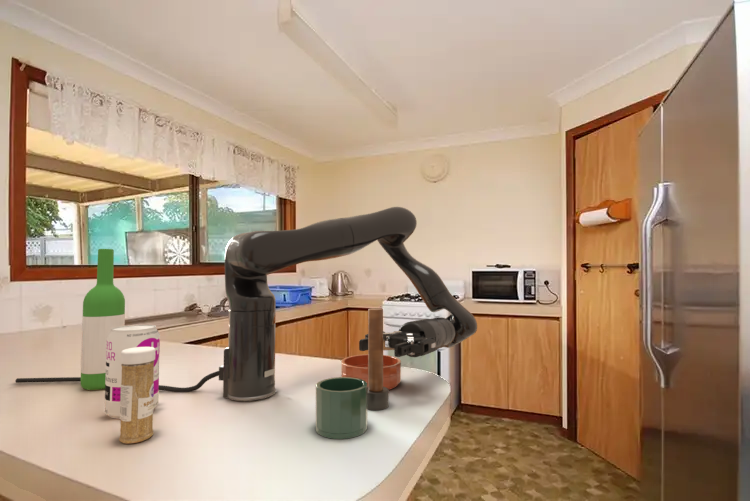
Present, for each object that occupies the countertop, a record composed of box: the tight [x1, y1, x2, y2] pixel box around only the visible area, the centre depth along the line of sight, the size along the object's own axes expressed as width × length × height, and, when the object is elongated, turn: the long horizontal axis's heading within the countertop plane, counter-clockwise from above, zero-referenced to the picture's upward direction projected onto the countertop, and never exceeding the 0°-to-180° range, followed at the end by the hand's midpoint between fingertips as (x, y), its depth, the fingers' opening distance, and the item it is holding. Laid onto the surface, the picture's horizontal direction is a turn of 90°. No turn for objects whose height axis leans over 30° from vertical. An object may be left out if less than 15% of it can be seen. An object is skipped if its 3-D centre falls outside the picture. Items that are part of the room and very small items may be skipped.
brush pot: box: [315, 376, 368, 440], centre depth 64 cm, size 8×8×7 cm
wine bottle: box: [80, 248, 126, 391], centre depth 87 cm, size 8×8×30 cm
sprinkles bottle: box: [118, 347, 155, 445], centre depth 60 cm, size 5×5×13 cm
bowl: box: [340, 353, 402, 390], centre depth 88 cm, size 13×13×5 cm
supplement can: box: [104, 324, 161, 420], centre depth 71 cm, size 8×8×15 cm
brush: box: [367, 307, 390, 411], centre depth 74 cm, size 5×5×18 cm
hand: (377, 348), depth 75 cm, fingers open, 8 cm apart
